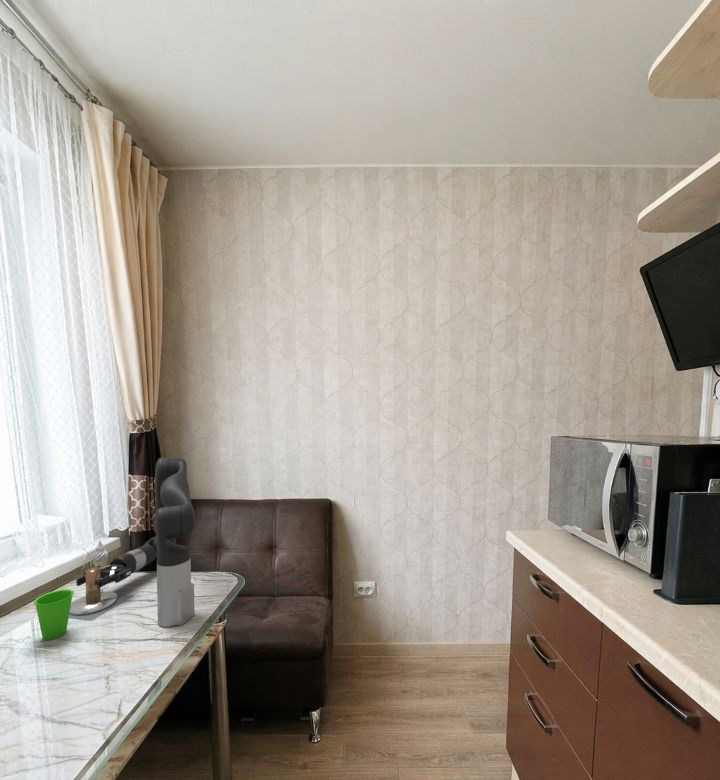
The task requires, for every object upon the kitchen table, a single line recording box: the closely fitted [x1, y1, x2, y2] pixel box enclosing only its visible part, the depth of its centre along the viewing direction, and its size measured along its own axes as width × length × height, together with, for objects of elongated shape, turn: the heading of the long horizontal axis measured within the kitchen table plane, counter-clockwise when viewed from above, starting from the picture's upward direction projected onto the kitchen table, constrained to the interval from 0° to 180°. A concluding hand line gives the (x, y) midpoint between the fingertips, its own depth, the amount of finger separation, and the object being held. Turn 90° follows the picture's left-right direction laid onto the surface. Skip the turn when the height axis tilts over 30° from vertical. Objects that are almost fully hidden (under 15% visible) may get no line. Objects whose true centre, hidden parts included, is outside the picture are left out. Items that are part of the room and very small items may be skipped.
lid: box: [69, 566, 118, 616], centre depth 129 cm, size 13×13×11 cm
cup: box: [33, 588, 75, 641], centre depth 112 cm, size 9×9×11 cm
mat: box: [68, 593, 134, 622], centre depth 128 cm, size 16×16×1 cm
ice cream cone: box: [91, 540, 109, 568], centre depth 147 cm, size 5×5×15 cm
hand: (87, 583), depth 127 cm, fingers open, 7 cm apart
